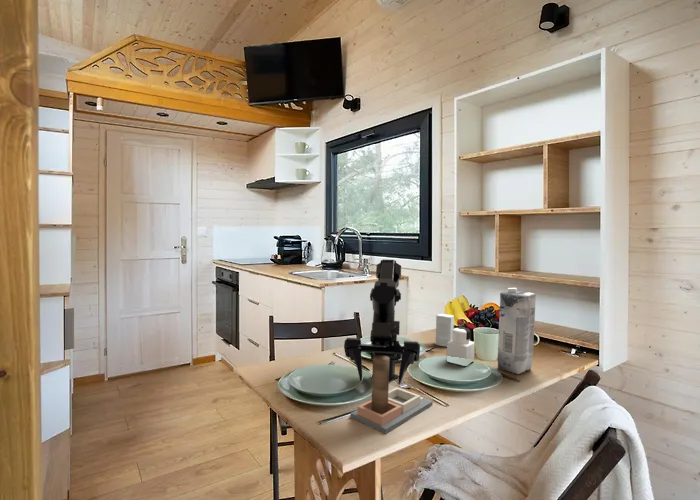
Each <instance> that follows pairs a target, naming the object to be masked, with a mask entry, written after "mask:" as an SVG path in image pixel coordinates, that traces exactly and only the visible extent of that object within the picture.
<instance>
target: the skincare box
mask: <svg viewBox="0 0 700 500" xmlns="http://www.w3.org/2000/svg"><path fill="white" fill-rule="evenodd" d="M435 317H436V318H435V319H436V321H435V322H436V324H435V346H441V347H446V348H447V343H448V342H449V341H451V340H452V329H453V328H455V315H454V314H453V315H452V314H445V313H438V314H437V315H435Z"/></svg>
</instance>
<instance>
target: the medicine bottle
mask: <svg viewBox="0 0 700 500" xmlns="http://www.w3.org/2000/svg"><path fill="white" fill-rule="evenodd" d="M447 356H451V357H459V358H465V359H473V360H474V361H475V341H472V340H471V330H470V328H468V327H464V326H455V327H454V328H453V329H452V340H451V341H449V342H448V343H447V347H446V357H447Z"/></svg>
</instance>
